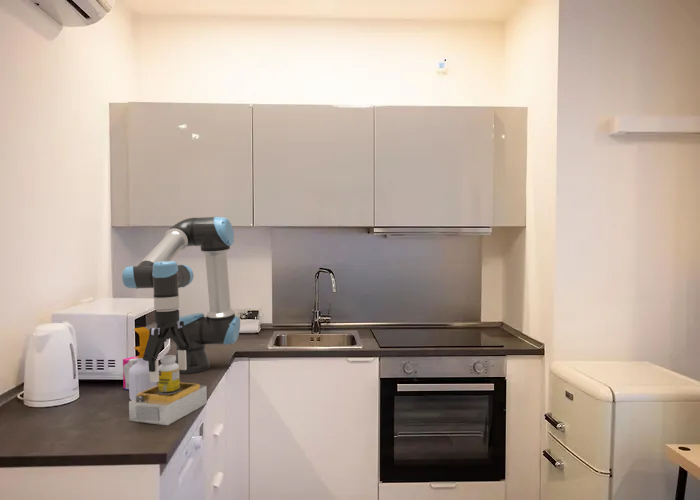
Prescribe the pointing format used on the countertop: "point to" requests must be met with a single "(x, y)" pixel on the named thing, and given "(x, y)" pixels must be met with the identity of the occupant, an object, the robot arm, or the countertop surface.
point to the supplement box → (127, 370)
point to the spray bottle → (140, 368)
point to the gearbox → (167, 404)
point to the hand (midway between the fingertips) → (169, 375)
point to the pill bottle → (168, 376)
